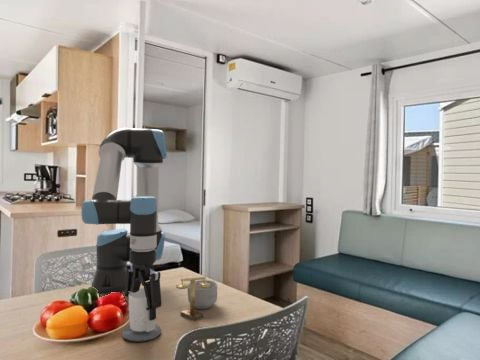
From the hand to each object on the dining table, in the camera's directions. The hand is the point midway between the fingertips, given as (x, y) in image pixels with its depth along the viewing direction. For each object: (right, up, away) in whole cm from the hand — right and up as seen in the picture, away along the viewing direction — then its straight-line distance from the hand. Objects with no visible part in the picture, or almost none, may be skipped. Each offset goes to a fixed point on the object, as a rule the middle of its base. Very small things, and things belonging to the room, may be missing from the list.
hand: (141, 325), depth 107 cm
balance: (+13, -2, +14) cm, 19 cm away
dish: (0, -3, 0) cm, 3 cm away
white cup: (0, -1, 0) cm, 1 cm away
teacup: (+16, -2, +25) cm, 29 cm away
